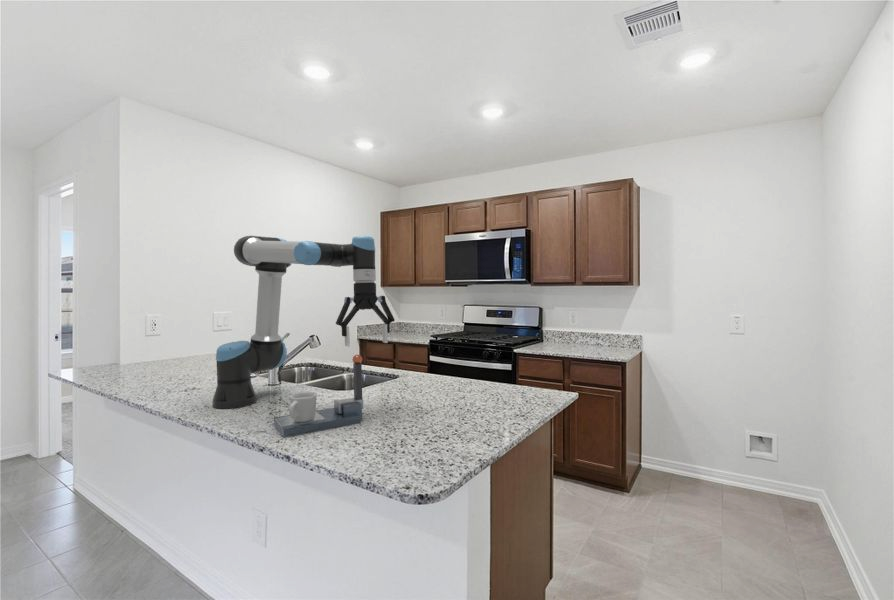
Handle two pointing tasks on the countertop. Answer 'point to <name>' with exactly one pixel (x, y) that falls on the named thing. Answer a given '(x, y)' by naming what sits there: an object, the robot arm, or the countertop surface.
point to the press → (320, 420)
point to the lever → (357, 386)
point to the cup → (302, 406)
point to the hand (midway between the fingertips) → (366, 344)
